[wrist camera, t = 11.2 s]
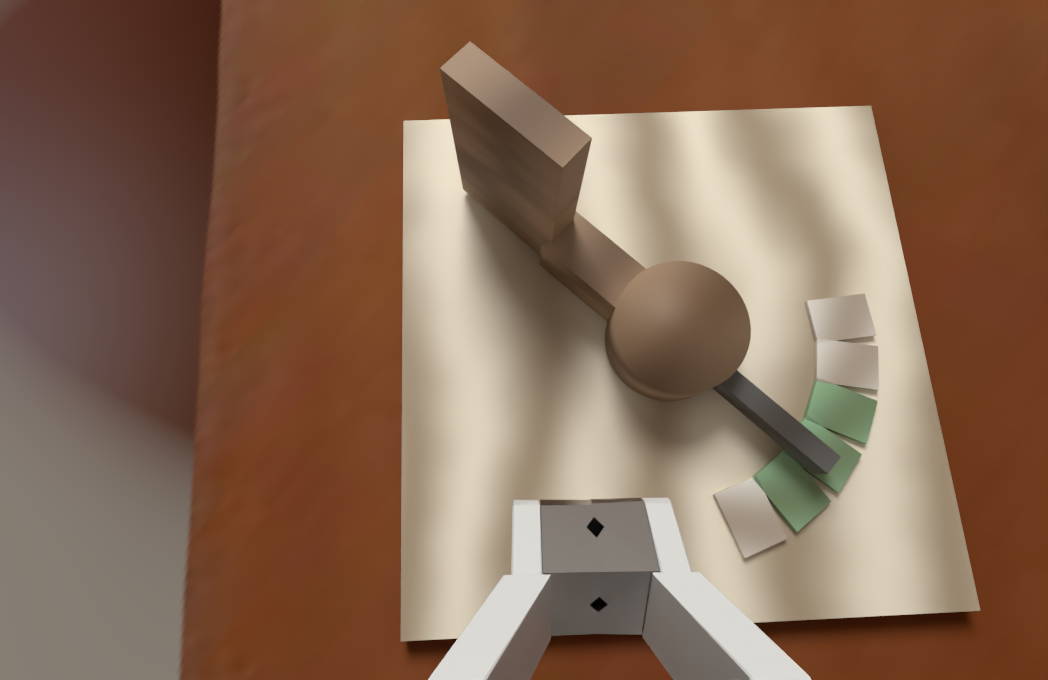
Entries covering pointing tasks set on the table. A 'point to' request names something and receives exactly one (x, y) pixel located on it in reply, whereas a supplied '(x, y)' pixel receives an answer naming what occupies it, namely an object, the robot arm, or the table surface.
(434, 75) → the table surface
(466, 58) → the brown wooden long piece
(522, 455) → the tuner board
